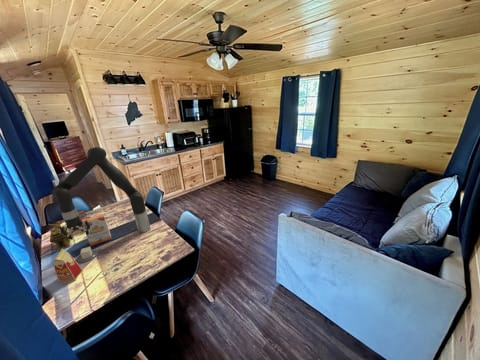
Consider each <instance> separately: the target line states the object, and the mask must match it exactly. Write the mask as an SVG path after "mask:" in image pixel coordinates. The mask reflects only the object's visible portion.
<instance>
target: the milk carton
mask: <svg viewBox="0 0 480 360" xmlns="http://www.w3.org/2000/svg"><path fill="white" fill-rule="evenodd" d="M59 251H60V252H58V253H57V254H56V257H55V258H54V259H53V261H52V262H53V267H54V271H55V275H56V277H57V280H58V282H59V283H62V284H64V283H65V284H69V283H72V282H75V281H77V279H78V277H79V276H80V275H81V274H82V273H83V272H84V270H83V269H82V267H81V266H80V263H79V262H78V261H77V260H76V259H75V258H74V257H73V256H72V255H71V253H69V252H68V251H66V250H64V249H63V248H62V249H61V250H59Z"/></svg>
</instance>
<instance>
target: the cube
mask: <svg viewBox="0 0 480 360" xmlns="http://www.w3.org/2000/svg"><path fill="white" fill-rule="evenodd" d="M92 250H93V249H92V248H91V246H86V247H84V248H81V249H80V253H79V255H81V256H82V258H83V259H85V258H88V257H91V256H92Z"/></svg>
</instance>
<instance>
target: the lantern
mask: <svg viewBox="0 0 480 360" xmlns="http://www.w3.org/2000/svg"><path fill="white" fill-rule="evenodd" d="M78 215H79V217H80V219H81V221H82V220H83V219H87V218H91V217H92V216H87V214H86V211H85V210H81V211H79V212H78ZM80 231H82V232H84V231H83V230H82V229H80Z"/></svg>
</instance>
